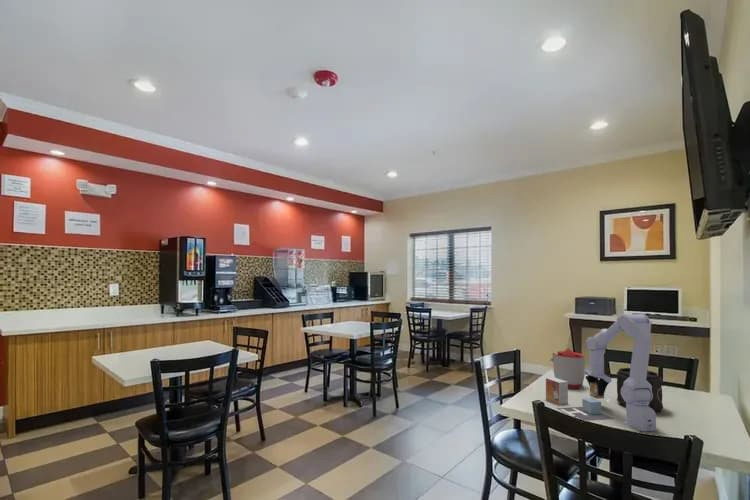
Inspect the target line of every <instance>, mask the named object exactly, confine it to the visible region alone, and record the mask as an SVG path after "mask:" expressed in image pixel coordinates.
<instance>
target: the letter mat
mask: <svg viewBox="0 0 750 500" xmlns="http://www.w3.org/2000/svg"><path fill="white" fill-rule="evenodd" d="M556 409H557V410H558V411H560V412H563V413H564V414H566V415H568V416H570V415H571V416H574V417H578V418H580V419H583V420H587V421H586V422H588V421H589V422H590V421H603V420H604V421H605V420H606V421H607V420H615V418H614V417H611V416H609V415H608V414H605V413H603V412H601V414H589V413H587V412H585V411H583V406H571V407H557V408H556ZM571 416H570V417H571Z"/></svg>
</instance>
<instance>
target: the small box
mask: <svg viewBox="0 0 750 500" xmlns="http://www.w3.org/2000/svg"><path fill="white" fill-rule="evenodd" d="M568 398H569V388H568V382H567V381H564V380H561V379H558V378H555V376H553V377H546V378H545V400H547V401H550V402H551V403H555V404H557V405H565V404H569V399H568Z"/></svg>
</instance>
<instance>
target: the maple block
mask: <svg viewBox="0 0 750 500" xmlns="http://www.w3.org/2000/svg"><path fill="white" fill-rule="evenodd" d="M589 396H590V398H593V399H596V400H598V399H599V400H600V399H605V395H604V396H599V394H598V387H597V383H596V382H593V383H590V386H589Z"/></svg>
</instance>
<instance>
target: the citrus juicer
mask: <svg viewBox="0 0 750 500" xmlns="http://www.w3.org/2000/svg"><path fill="white" fill-rule="evenodd" d="M585 357H586V355H585V354H584V353H583V354H582V353H580V352H576V351H575V352H574V351H572V350H571V348H568V347H567V348H566V349H565V350H563V351H561V350H560V351H557V353H554V352H552V358H550V360H549V361H550V362H552V363H553V374H554V377H555V378H558V379H561V380H564V381H567V382H568V389H572V390H575V389H580V388H582V386H583V384H584V379H585V375H586V374H584V370H586V369H585V368H586V367H585Z"/></svg>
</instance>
